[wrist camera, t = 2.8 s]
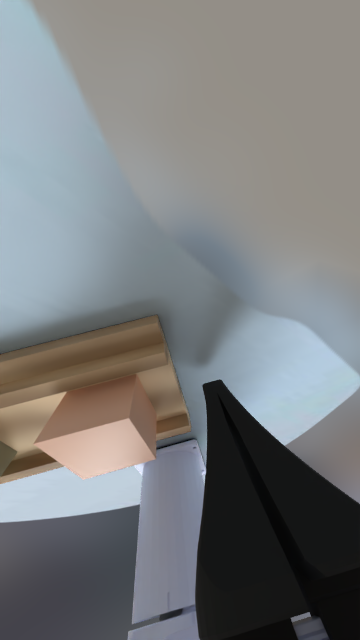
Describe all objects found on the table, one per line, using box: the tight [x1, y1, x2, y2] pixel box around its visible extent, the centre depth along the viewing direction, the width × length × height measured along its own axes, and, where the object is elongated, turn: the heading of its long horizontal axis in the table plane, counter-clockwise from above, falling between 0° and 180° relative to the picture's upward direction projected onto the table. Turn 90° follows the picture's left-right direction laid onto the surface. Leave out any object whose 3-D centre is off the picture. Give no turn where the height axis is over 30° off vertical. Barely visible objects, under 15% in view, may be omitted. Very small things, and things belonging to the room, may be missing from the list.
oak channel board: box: [0, 315, 191, 484], centre depth 10 cm, size 12×26×4 cm, turn 102°
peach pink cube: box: [33, 374, 157, 480], centre depth 10 cm, size 5×5×3 cm
